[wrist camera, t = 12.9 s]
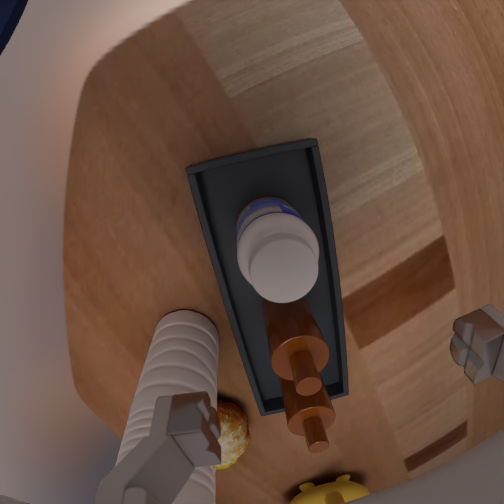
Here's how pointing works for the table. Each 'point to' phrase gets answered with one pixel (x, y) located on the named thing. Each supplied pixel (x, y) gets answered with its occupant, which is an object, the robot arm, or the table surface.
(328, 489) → the teapot
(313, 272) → the pill bottle
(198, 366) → the water bottle
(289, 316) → the amber bottle
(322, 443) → the amber bottle
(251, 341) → the tray
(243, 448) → the fruit
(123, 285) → the table surface
